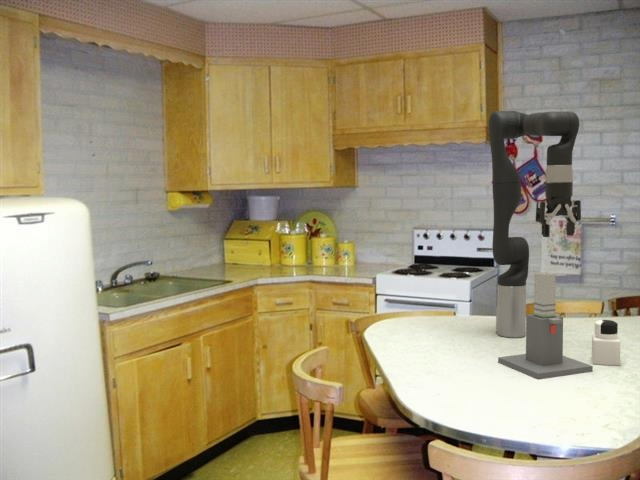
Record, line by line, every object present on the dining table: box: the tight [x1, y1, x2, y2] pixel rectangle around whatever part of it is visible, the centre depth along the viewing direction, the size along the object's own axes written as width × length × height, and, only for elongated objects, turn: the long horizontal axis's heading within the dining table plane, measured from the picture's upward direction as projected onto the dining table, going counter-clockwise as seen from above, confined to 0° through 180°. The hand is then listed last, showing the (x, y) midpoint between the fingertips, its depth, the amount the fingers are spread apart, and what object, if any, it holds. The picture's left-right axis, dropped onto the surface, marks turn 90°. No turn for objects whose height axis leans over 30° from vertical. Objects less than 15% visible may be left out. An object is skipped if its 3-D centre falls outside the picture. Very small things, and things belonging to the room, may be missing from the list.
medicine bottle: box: [591, 319, 621, 367], centre depth 195 cm, size 7×7×12 cm
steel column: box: [533, 272, 557, 319], centre depth 190 cm, size 4×4×18 cm
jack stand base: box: [497, 313, 593, 380], centre depth 191 cm, size 18×18×14 cm
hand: (558, 236), depth 199 cm, fingers open, 8 cm apart
